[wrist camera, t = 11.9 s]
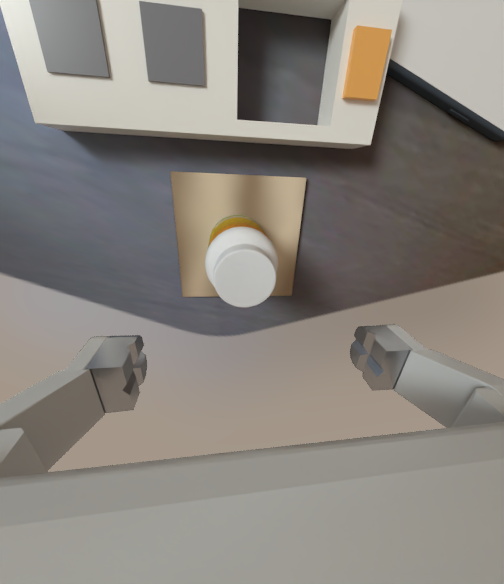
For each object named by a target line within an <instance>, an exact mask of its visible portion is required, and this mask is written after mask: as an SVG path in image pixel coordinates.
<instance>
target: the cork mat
mask: <svg viewBox="0 0 504 584" xmlns="http://www.w3.org/2000/svg"><path fill="white" fill-rule="evenodd" d="M170 172H171V183H172V193H173V203H174V213H175V224H176V234H177V244H178V255H179V265H180V275H181V285H182V296H183V297H212V296H219V295H218V293H217V292H216V290H215V287H214V286H213V285H212V283H211V282H210V280H209V278H208V276H207V273H206V268H205V259H206V253H207V249H208V245H209V239H210V235H211V232H212V230H213V228H214V227H215V225H216V224H217V223H218V222H219V221H220V220H221V219H223V218H225V217H227V216H230V215H244V216H247V217H250V218H251V219H253V220H254V221H255V222H257V223H258V225H259V226H260V227H261V228H262V230H263V231H264V233H265V234H266V235H267V237H268V238H269V239H270V241H271V242H272V244H273V246H274V248H275V250H276V253H277V258H278V268H277V272H276V284H275V287H274V289H273V291H272V293H271V294H270V296H292V288H293V280H294V272H295V264H296V256H297V248H298V241H299V233H300V225H301V217H302V209H303V201H304V193H305V186H306V178H299V177H278V176H257V175H235V174H214V173H193V172H172V171H170Z"/></svg>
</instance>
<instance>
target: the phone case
mask: <svg viewBox="0 0 504 584" xmlns="http://www.w3.org/2000/svg"><path fill="white" fill-rule="evenodd" d="M386 74H388V75H389V76H391V77H392V78H394V79H396V80H397V81H399V82H400V83H402V84H403V85H405V86H407V87H408V88H410V89H411V90H413V91H414V92H416V93H418V94H419V95H421V96H422V97H424V98H425V99H427V100H429V101H430V102H432V103H433V104H435V105H437V106H438V107H440V108H441V109H443V110H445V111H446V112H448V113H449V114H451V115H452V116H454V117H456V118H457V119H459V120H460V121H462V122H464V123H465V124H467V125H468V126H470V127H472V128H473V129H475V130H477V131H478V132H480V133H481V134H483V135H485V136H486V137H488V138H490V139H491V140H493V141H501V140H504V0H403V1H402V5H401V10H400V14H399V19H398V23H397V28H396V32H395V37H394V42H393V46H392V51H391V55H390V60H389V64H388V69H387V73H386Z"/></svg>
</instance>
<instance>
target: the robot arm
mask: <svg viewBox="0 0 504 584" xmlns="http://www.w3.org/2000/svg"><path fill="white" fill-rule="evenodd" d="M354 336H355V338H356V340H355V342H353V343H352V345H351V349H350V356H351V360H352V362H353V364H354V365H355V367H356V368H357V369H359V370H361V371H362V372H363V378H364V379H365V381H366V382H367V384H368V385H369V386H370V388H371V389H372V390H389V389H394V391H395V392H397V393H398V394H400V395H401V396H403V397H404V398H405V399H407V400H408V401H410V402H411V403H413V404H414V405H415V406H417V407H418V408H419V409H421V410H422V411H424V412H425V413H427V414H428V415H429V416H431V417H432V418H434V419H435V420H436V421H438V422H439V423H441V424H442V425H444V426H445V427H446V428H444V429H435V430H426V431H417V432H408V433H399V434H390V435H381V436H372V437H363V438H354V439H346V440H336V441H327V442H319V443H309V444H300V445H292V446H282V447H273V448H264V449H255V450H246V451H237V452H228V453H219V454H209V455H201V456H192V457H183V458H173V459H164V460H156V461H147V462H137V463H128V464H120V465H112V466H111V465H110V466H102V467H92V468H83V469H75V470H66V471H56V472H48V470H49V469H50V468H51V467H52V466H53V465H54V464H55V463H56V462H57V461H58V460H59V459H60V458H61V457H62V456H63V455H64V454H65V453H66V452H67V451H68V450H69V449H70V448H71V447H72V446H73V445H74V444H75V443H76V442H77V441H78V440H79V439H80V438H81V437H83V436H84V435H85V434H86V432H88V431H89V430H90V429H91V428H92V427H93V426H94V425H95V424H96V423H97V422H98V421H99V420H100V419H101V418H102V417H103V416H104V415H105V413H111V412H119V411H128V410H134V407H135V404H136V402H137V399H138V396H139V393H140V392H139V387H138V386H139V385H141V384H142V383H143V382H144V379H145V376H146V370H147V360H146V355H145V354H144V353H142V352H141V350H142V348H143V346H144V345H143V340H142V337H141V336H139V335H135V336H100V337H99V336H98V337H92V338H90V339H89V340H88V342H87V343H86V344H85V345H84V347H83V348H82V349H81V350H80V352H79V353H78V354H77V356H76V357H75V358H74V359H73V361H72V362H71V363H70V364H69V366H68V367H67V368H66V369H65V371H58V372H57V373H55V374H53V375H51V376H49V377H48V378H46V379H44V380H42V381H41V382H39V383H37V384H35V385H33V386H32V387H30V388H28V389H26V390H24V391H23V392H21V393H19V394H17V395H16V396H14V397H12V398H10V399H9V400H7V401H5V402H3V403H1V404H0V584H504V379H502V378H499V377H497V376H495V375H492V374H490V373H487V372H485V371H482V370H480V369H478V368H475V367H473V366H470V365H468V364H466V363H463V362H461V361H458V360H456V359H453V358H451V357H448V356H446V355H444V354H441V353H439V352H437V351H434V350H431V349H426V348H425V347H424V346H423V345H421V344H420V343H419V342H418V341H417V340H415V339H414V338H413V337H412V336H411V335H409V334H408V333H407V332H406V331H404V330H403V329H402V328H401V327H400V326H398V325H395V324H389V325H380V326H360V327H358V328H357V329H356V331H355V334H354Z"/></svg>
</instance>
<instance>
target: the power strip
mask: <svg viewBox="0 0 504 584" xmlns="http://www.w3.org/2000/svg"><path fill="white" fill-rule="evenodd" d="M402 1H403V0H0V6H1V10H2V13H3V16H4V20H5V23H6V26H7V30H8V33H9V37H10V40H11V43H12V47H13V50H14V53H15V57H16V60H17V64H18V67H19V70H20V74H21V77H22V81H23V84H24V87H25V91H26V94H27V97H28V101H29V104H30V108H31V111H32V114H33V118H34V121H35V123H37V124H41V125H44V126H48V127H51V128H55V129H58V130H62V131H74V132H90V133H106V134H122V135H138V136H154V137H169V138H185V139H201V140H217V141H233V142H249V143H265V144H280V145H296V146H312V147H328V148H344V149H354V148H359V147H364V146H368V145H371V141H372V136H373V132H374V127H375V123H376V118H377V114H378V109H379V105H380V100H381V96H382V91H383V87H384V82H385V78H386V73H387V69H388V64H389V60H390V55H391V51H392V46H393V42H394V37H395V32H396V28H397V23H398V19H399V14H400V10H401V5H402ZM238 8H245V9H252V10H260V11H268V12H276V13H284V14H291V15H299V16H307V17H315V18H323V19H330V20H331V27H330V35H329V42H328V50H327V57H326V65H325V72H324V80H323V87H322V95H321V102H320V110H319V117H318V125H303V124H290V123H276V122H263V121H249V120H237V81H238Z"/></svg>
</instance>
